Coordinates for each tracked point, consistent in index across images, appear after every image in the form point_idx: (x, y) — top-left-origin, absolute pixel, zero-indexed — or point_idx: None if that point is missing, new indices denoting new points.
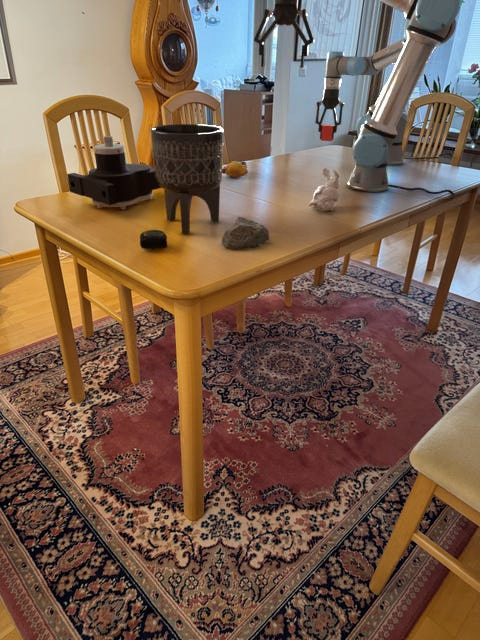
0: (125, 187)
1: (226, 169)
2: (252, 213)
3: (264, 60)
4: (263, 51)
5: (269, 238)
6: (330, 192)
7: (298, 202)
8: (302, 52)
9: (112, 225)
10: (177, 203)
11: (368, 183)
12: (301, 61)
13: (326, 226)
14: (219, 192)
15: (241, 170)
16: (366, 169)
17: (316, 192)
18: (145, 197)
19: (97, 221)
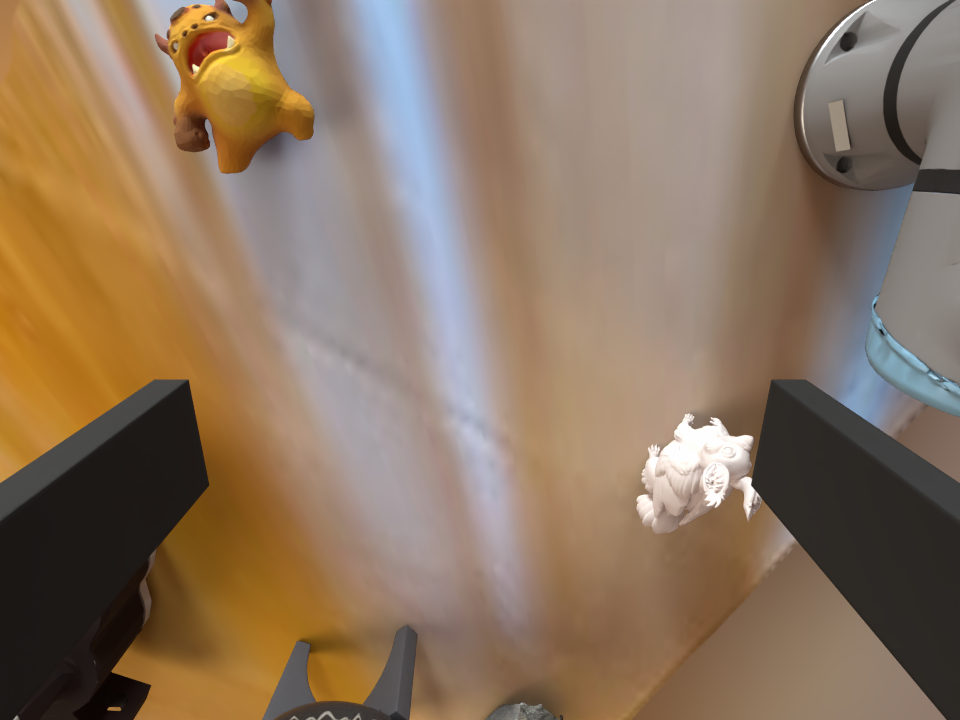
0: (117, 661)
1: (201, 115)
2: (478, 549)
3: (154, 476)
4: (67, 637)
5: (562, 716)
6: (713, 506)
7: (594, 410)
8: (897, 635)
9: (201, 704)
10: (308, 684)
11: (888, 186)
12: (801, 534)
13: (681, 586)
14: (410, 699)
15: (283, 127)
16: (917, 167)
17: (666, 507)
18: (150, 568)
19: (153, 693)
